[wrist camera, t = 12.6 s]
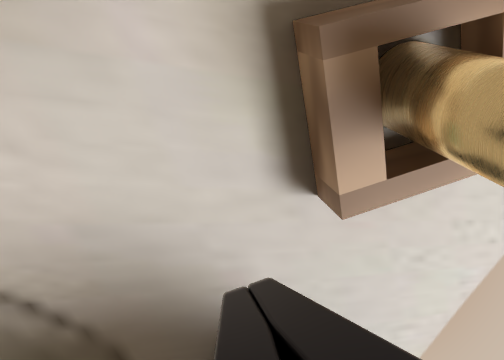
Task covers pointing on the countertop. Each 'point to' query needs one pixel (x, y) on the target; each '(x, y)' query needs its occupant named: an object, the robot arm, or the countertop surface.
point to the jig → (376, 97)
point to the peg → (447, 103)
